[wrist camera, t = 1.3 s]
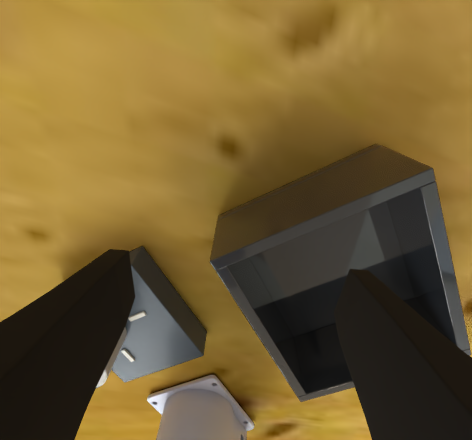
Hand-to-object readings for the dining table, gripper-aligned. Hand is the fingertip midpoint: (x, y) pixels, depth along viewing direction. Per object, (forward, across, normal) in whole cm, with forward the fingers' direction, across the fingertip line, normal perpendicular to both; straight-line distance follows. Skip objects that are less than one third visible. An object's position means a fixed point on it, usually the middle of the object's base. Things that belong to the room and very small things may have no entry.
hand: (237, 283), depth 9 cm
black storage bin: (+10, -7, +6) cm, 14 cm away
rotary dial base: (+10, +8, +13) cm, 18 cm away
